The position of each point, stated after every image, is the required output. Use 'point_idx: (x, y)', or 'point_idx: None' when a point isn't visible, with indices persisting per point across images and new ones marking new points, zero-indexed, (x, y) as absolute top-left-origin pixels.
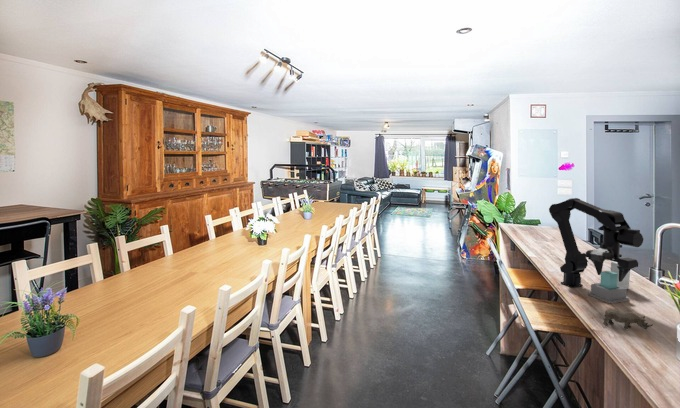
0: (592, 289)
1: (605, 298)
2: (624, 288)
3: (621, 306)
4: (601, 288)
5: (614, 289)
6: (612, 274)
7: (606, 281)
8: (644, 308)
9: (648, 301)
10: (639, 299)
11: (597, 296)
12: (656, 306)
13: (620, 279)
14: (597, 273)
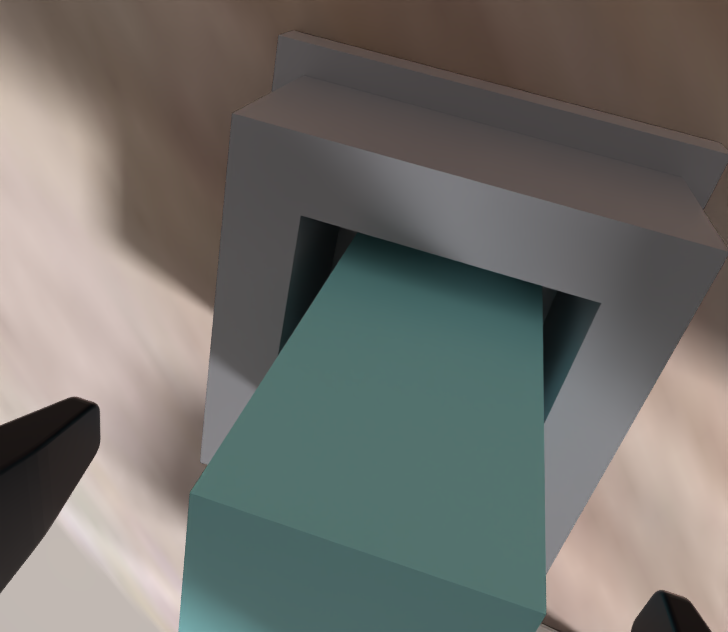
0: (662, 197)
1: (381, 95)
2: (214, 442)
3: (153, 57)
4: (448, 168)
5: (253, 277)
6: (188, 555)
7: (375, 357)
8: (24, 232)
9: (150, 467)
10: None
11: (521, 96)
12: (36, 384)
13: (9, 425)
14: (705, 626)
